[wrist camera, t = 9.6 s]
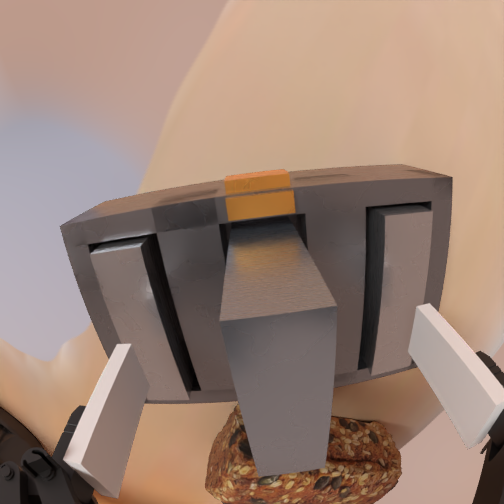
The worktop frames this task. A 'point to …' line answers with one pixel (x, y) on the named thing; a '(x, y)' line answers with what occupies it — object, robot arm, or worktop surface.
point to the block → (279, 344)
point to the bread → (313, 481)
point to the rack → (215, 257)
